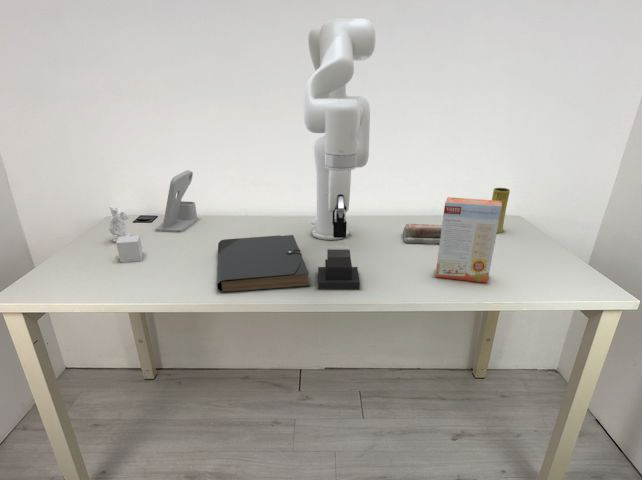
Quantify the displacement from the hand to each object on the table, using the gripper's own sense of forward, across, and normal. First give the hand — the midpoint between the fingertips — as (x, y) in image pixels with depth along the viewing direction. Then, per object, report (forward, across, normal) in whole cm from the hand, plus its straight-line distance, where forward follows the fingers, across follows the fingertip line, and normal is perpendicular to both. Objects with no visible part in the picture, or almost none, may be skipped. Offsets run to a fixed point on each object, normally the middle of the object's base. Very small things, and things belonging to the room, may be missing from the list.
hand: (339, 230), depth 122 cm
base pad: (+14, +1, 0) cm, 14 cm away
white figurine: (+15, -33, -71) cm, 80 cm away
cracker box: (+14, -2, +35) cm, 37 cm away
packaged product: (+15, -35, +32) cm, 50 cm away
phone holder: (+15, -52, -57) cm, 79 cm away
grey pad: (+9, +1, 0) cm, 9 cm away
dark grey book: (+14, -10, -22) cm, 28 cm away
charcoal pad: (+12, +1, 0) cm, 12 cm away
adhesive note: (+14, -17, -62) cm, 66 cm away
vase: (+15, -45, +57) cm, 74 cm away
